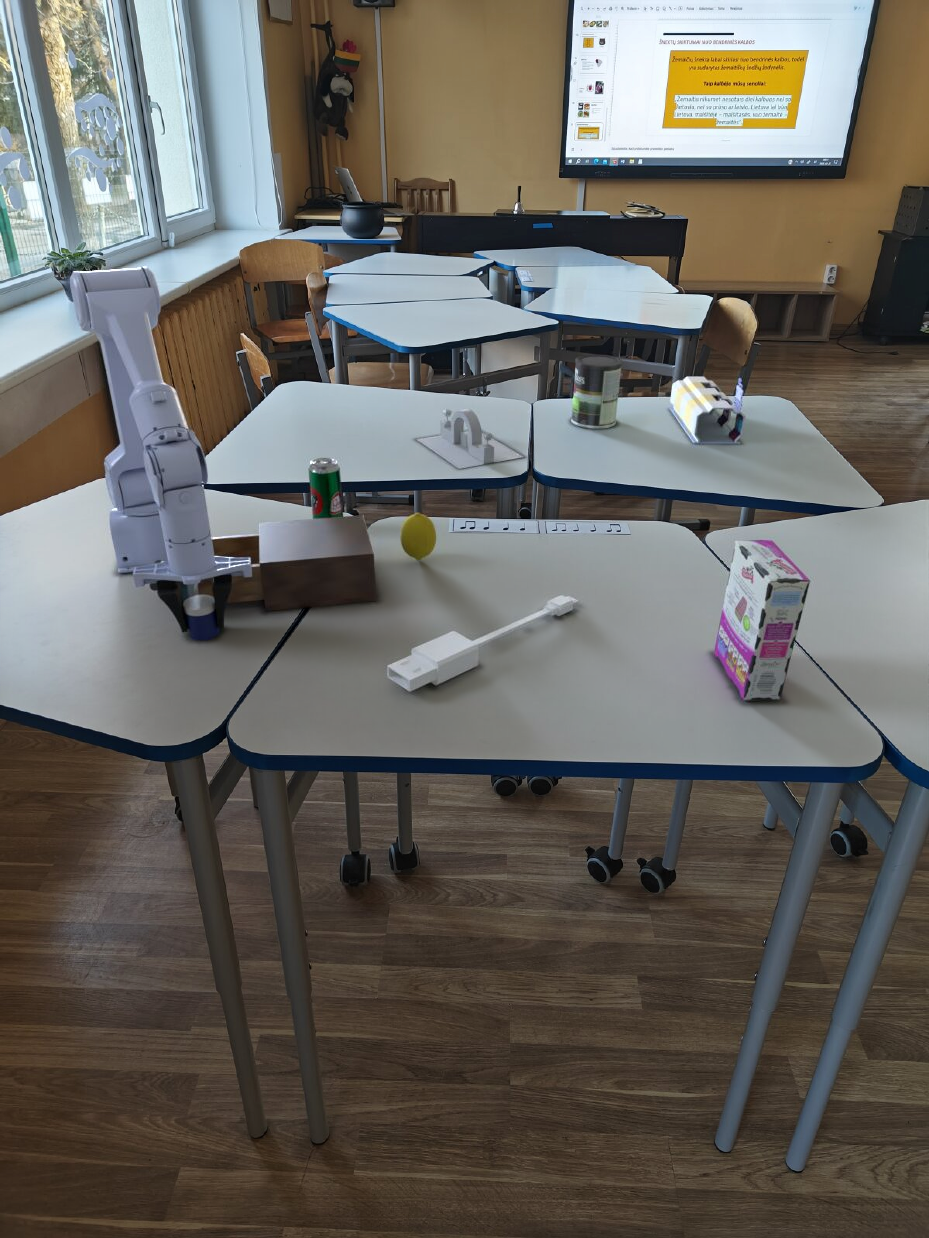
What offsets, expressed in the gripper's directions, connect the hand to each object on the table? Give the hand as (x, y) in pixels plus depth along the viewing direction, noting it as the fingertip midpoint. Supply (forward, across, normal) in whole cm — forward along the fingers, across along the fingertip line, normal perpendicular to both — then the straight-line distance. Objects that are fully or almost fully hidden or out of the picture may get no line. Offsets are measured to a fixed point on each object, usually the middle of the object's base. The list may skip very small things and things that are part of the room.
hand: (203, 626), depth 115 cm
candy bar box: (+1, +67, -24) cm, 71 cm away
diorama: (+1, +107, +71) cm, 128 cm away
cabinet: (+1, +16, +11) cm, 19 cm away
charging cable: (+1, +37, -11) cm, 39 cm away
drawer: (0, +2, +11) cm, 11 cm away
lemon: (+1, +32, +16) cm, 36 cm away
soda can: (+1, +19, +30) cm, 36 cm away
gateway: (+1, +51, +66) cm, 83 cm away
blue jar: (+1, 0, 0) cm, 1 cm away
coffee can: (+1, +83, +78) cm, 114 cm away
